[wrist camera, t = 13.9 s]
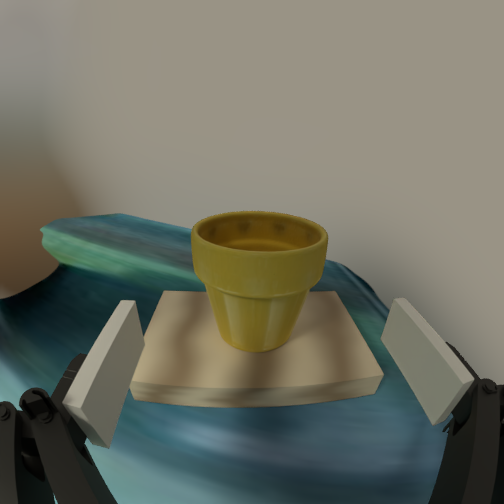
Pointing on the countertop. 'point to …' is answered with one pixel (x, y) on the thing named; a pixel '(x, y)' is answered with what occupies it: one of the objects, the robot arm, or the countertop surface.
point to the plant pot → (257, 273)
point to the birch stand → (252, 358)
